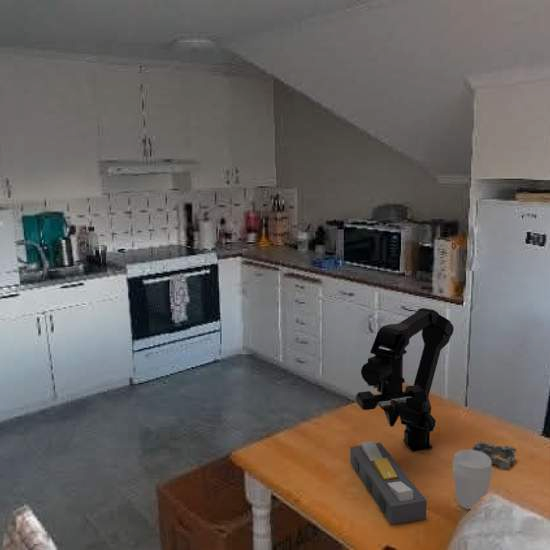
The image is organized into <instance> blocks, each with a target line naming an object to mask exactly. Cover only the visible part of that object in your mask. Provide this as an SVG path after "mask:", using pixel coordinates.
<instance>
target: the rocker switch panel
mask: <svg viewBox="0 0 550 550" xmlns="http://www.w3.org/2000/svg"><path fill="white" fill-rule="evenodd" d="M375 444H376V446H377V448H378V450H379V451H380V453H381V455H382V457H383V458H387V459H388V461H389V463H390V464H391V466H392V468H393V470H394V471H395V473H396V475H397V476H398V477H397V479H393V480H387V481H383V479H382V478H381V477H380V475H379V474H378V473H377V471H376V470H375V468H374V467H373V464H374V462H370V461H369V460H368V459H367V457H366V456H365V454H364V453H363V452H362V449H361V445H360V444H359V445H353V446H350V447H349V452H350V453H349V454H350V455H349V456H350V457H349V458H350V459H349V460H350V461H349V463H350V465H351V466H352V468H353V470H354V471H355V473H356V474H357V476H358V477H359V478H360V480H361V482H362V483H363V485H364V486H365V488H366V490H367V491H368V493H369V494H370V496H371V497H372V498H373V500H374V502H375V503H376V505H377V507H378V508H379V509H380V510H381V512H382V514H383V516H384V517H385V519H386V520H387V521H388V523H389V525H390V526H395V525H400V524H406V523H407V524H408V523H412V522H416V521H417V522H418V521H421V520H427V503H428V501H427V499H426V497H425V496H424V495H423V494H422V493H421V491H420V490H419V489H418V488H417V487H416V485H415V484H414V483H413V482H412V480H411V479H410V478H409V476H408V475H407V474H406V473H405V472H404V470H403V469H402V468H401V466H400V465H399V464H398V463H397V462H396V460H395V459H394V458H393V456H392V455H391V453H389V452H388V450H387V449H386V448H385V447H384V445H383V444H382V442H375ZM398 481H401V482H402V483H404V484H405V485H406V486H408V487H409V488H410V489H412V490H413V500H407V501H402V502H399V501H398V500H397V499H396V498H395V496H394V495H393V493H392V492H391V491H390V489H389V488H388V486H387V483H392V482H398Z"/></svg>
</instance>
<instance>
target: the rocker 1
mask: <svg viewBox="0 0 550 550" xmlns="http://www.w3.org/2000/svg"><path fill="white" fill-rule="evenodd" d="M375 443H376V442H375V440H368V441H365V442H364V441H363V442H361V449H362V452H363V453H364V454H365V456H366V457H367V459H368V460H369V461H370V462H374V460H376V459H382V458H383V457H382V455H381V453H380V451H379V450H378V448H377V446H376V444H375Z"/></svg>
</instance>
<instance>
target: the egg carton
mask: <svg viewBox="0 0 550 550" xmlns="http://www.w3.org/2000/svg"><path fill="white" fill-rule="evenodd" d="M471 448H472V450H476V451H479V452H482V453H484V454H486V455H488V456H489V457H490V459H491V461H492V465H496V466H498V468H499V469H500V470H503V469H504V470H505V469H507V470H508V469H510V468H511V464H512V463H513V464H514V463H515V457H516V456H515V454H516V452H517V448H514V447H512V446H507V445H505V446H501V445H495V444H492V443H485V442H483V441H479V442H478V441H477V443H476V444H474V445H473V446H472V447H471ZM495 455H498V456H499V457H496V456H495ZM503 459H505V460H503Z"/></svg>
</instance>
